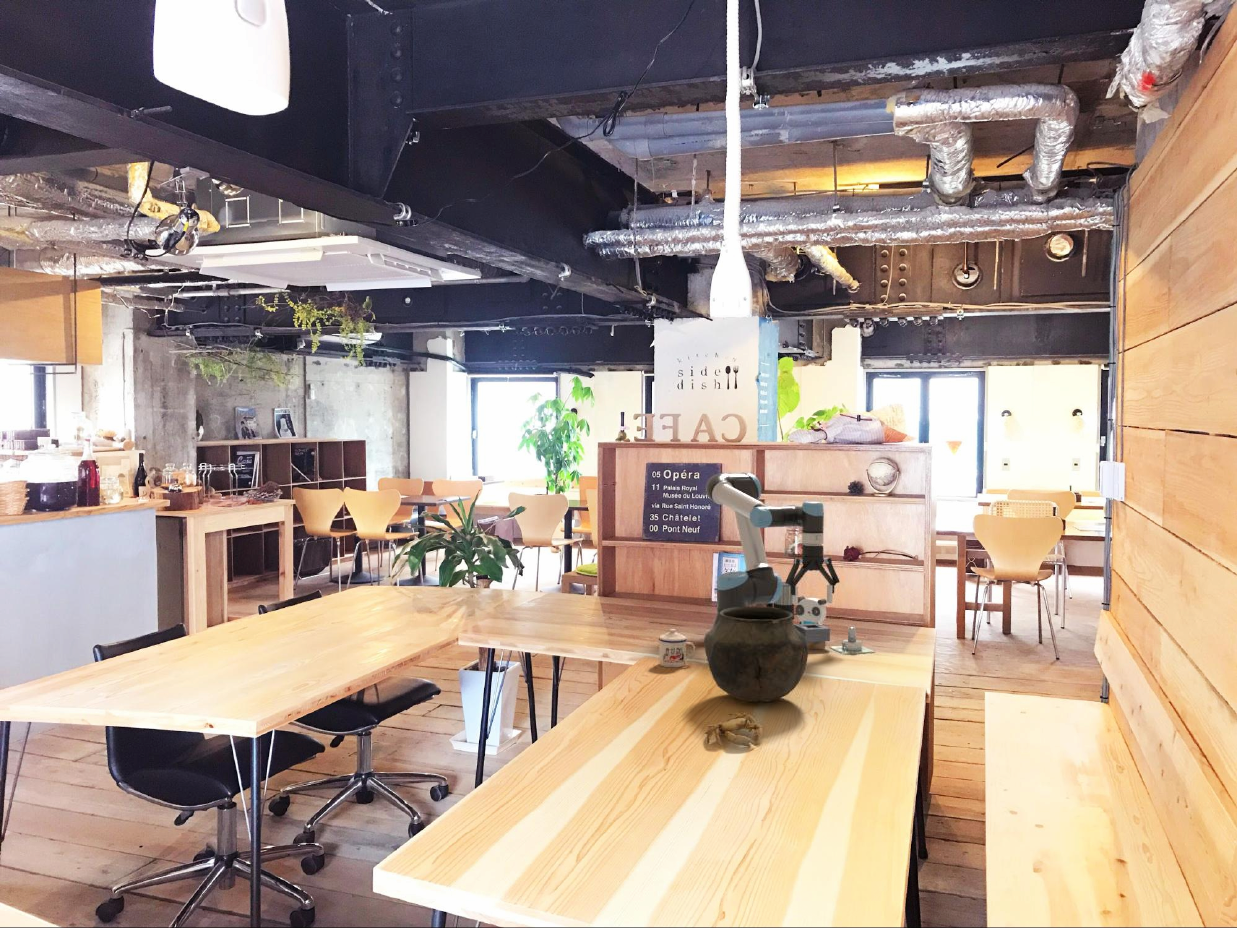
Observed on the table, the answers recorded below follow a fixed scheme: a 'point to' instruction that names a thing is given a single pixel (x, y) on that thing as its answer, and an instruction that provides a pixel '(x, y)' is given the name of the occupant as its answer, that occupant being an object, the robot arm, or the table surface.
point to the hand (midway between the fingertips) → (812, 603)
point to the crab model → (736, 724)
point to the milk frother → (784, 600)
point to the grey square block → (814, 632)
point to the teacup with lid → (673, 649)
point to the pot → (756, 653)
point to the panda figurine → (811, 610)
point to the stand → (816, 645)
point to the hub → (851, 644)
